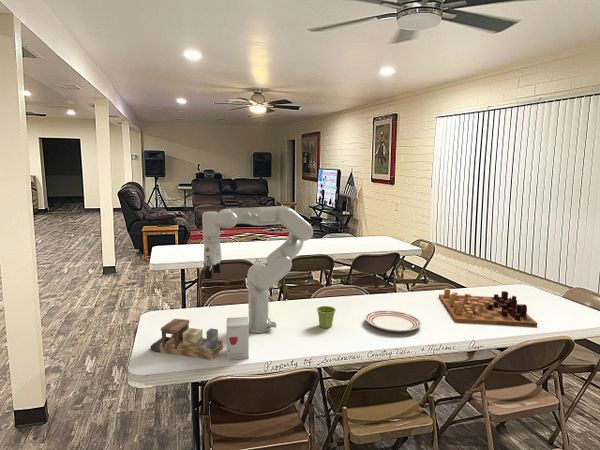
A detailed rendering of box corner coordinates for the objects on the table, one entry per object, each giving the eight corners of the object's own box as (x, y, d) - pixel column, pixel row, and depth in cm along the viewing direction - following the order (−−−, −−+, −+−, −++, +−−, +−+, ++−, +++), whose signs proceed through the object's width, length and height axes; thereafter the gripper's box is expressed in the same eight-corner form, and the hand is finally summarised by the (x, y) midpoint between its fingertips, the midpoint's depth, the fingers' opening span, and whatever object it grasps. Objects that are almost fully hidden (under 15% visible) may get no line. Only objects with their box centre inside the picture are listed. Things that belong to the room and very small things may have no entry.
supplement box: (226, 360, 174) (226, 325, 172) (226, 350, 183) (226, 317, 180) (249, 359, 176) (249, 324, 173) (248, 349, 184) (247, 316, 182)
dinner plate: (397, 312, 233) (397, 306, 232) (432, 330, 208) (433, 324, 208) (354, 319, 221) (354, 313, 220) (386, 340, 196) (387, 333, 196)
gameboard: (438, 298, 259) (439, 283, 257) (507, 301, 254) (509, 287, 253) (455, 323, 219) (456, 306, 218) (536, 327, 215) (538, 310, 214)
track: (223, 348, 184) (223, 324, 183) (212, 360, 174) (211, 334, 172) (164, 341, 191) (163, 317, 189) (150, 351, 180) (149, 326, 179)
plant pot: (337, 324, 214) (338, 307, 212) (331, 331, 205) (331, 313, 204) (320, 321, 218) (321, 304, 216) (313, 327, 209) (313, 310, 208)
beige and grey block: (219, 344, 182) (219, 328, 181) (213, 350, 176) (212, 333, 175) (189, 341, 185) (189, 324, 184) (182, 346, 179) (182, 330, 178)
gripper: (212, 243, 183) (213, 281, 186) (226, 235, 200) (227, 271, 203) (195, 242, 185) (197, 280, 187) (211, 235, 201) (212, 270, 204)
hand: (212, 275), depth 195 cm, fingers open, 9 cm apart
